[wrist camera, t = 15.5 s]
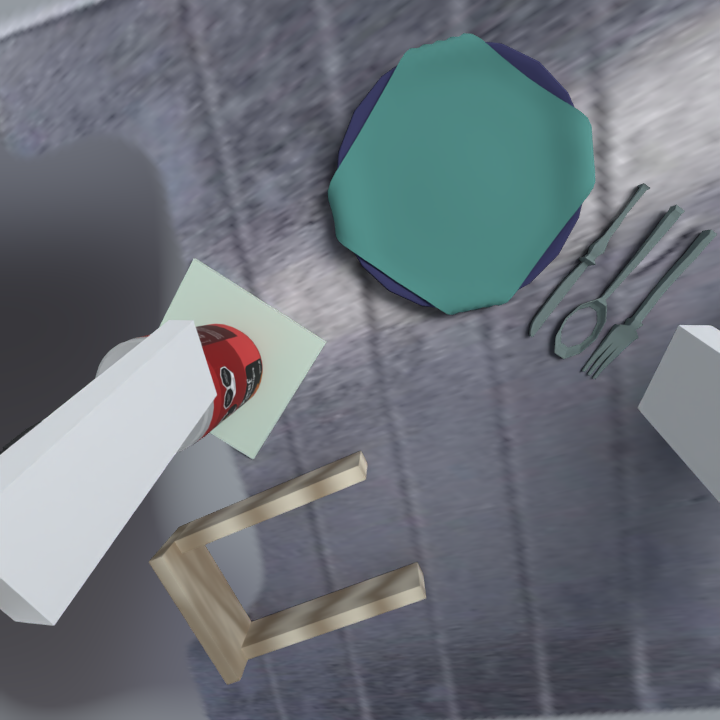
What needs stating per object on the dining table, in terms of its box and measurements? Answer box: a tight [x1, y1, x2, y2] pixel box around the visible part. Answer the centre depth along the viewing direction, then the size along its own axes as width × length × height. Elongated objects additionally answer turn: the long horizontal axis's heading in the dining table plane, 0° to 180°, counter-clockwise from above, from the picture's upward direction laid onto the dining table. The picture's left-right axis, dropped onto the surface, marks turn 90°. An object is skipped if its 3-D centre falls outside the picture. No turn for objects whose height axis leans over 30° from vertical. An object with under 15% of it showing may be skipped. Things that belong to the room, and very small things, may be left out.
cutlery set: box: [328, 33, 717, 379], centre depth 29 cm, size 20×30×2 cm, turn 57°
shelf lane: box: [149, 451, 426, 685], centre depth 35 cm, size 22×15×5 cm
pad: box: [159, 259, 326, 459], centre depth 34 cm, size 14×14×1 cm
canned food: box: [95, 324, 263, 453], centre depth 28 cm, size 8×8×11 cm
